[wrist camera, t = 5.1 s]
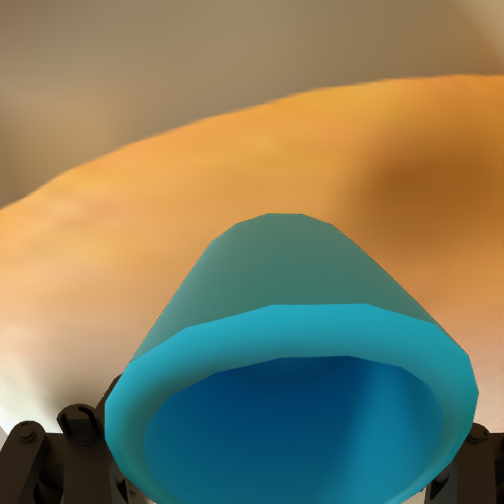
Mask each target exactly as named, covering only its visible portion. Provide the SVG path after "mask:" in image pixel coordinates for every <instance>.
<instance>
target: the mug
mask: <svg viewBox="0 0 504 504" xmlns="http://www.w3.org/2000/svg"><path fill="white" fill-rule="evenodd" d="M478 394H479V392H478V388H477V384H476V380H475V376H474V373H473V369H472V366H471V362H470V359H469V356H468V355H467V354H466V352H465V351H464V350H463V349H462V348H461V347H460V346H459V345H458V344H457V343H456V342H455V341H454V339H453V338H452V337H451V336H450V335H449V334H448V333H447V332H446V331H445V330H444V329H443V328H442V327H441V326H440V325H439V324H438V323H437V322H436V321H435V319H434V318H433V317H432V316H431V315H430V314H429V313H428V312H427V311H426V310H425V309H424V308H423V307H422V306H421V305H420V304H419V303H418V302H417V301H416V300H415V299H414V298H413V297H412V296H411V295H410V294H409V293H408V292H407V291H406V290H405V289H404V288H403V287H402V286H400V285H399V284H398V283H397V282H396V281H395V280H394V279H393V278H392V277H391V276H390V275H389V274H388V273H387V272H386V271H385V270H384V269H383V268H382V267H381V266H379V265H378V264H377V263H376V262H375V261H374V260H373V259H372V258H371V257H370V256H369V255H368V254H367V253H365V252H364V251H363V250H362V249H361V248H360V247H359V246H358V245H357V244H355V243H354V242H353V241H352V240H351V239H349V238H348V237H347V236H346V235H344V234H343V233H342V232H341V231H339V230H338V229H337V228H336V227H334V226H333V225H332V224H329V223H326V222H323V221H320V220H318V219H315V218H312V217H309V216H306V215H303V214H265V215H262V216H259V217H256V218H253V219H249V220H246V221H243V222H240V223H237V224H235V225H234V226H233V227H231V228H230V229H229V230H227V231H226V232H224V233H223V234H222V235H220V236H219V237H218V238H216V239H215V240H213V241H212V242H211V243H210V244H209V246H208V247H207V249H206V250H205V251H204V253H203V254H202V256H201V257H200V259H199V260H198V261H197V263H196V264H195V266H194V267H193V269H192V270H191V272H190V273H189V274H188V276H187V277H186V279H185V280H184V282H183V283H182V285H181V286H180V288H179V289H178V290H177V292H176V293H175V295H174V296H173V298H172V299H171V301H170V302H169V304H168V305H167V307H166V308H165V310H164V311H163V313H162V314H161V316H160V317H159V319H158V320H157V322H156V323H155V325H154V326H153V328H152V329H151V331H150V332H149V334H148V335H147V337H146V338H145V340H144V341H143V343H142V344H141V346H140V347H139V349H138V350H137V352H136V354H135V355H134V357H133V358H132V360H131V361H130V363H129V364H128V366H127V368H126V369H125V371H124V372H123V374H122V376H121V377H120V379H119V380H118V382H117V384H116V385H115V387H114V389H113V390H112V392H111V394H110V395H109V397H108V398H107V400H106V402H105V440H106V442H107V445H108V447H109V449H110V451H111V453H112V455H113V457H114V459H115V461H116V463H117V465H118V467H119V469H120V471H121V472H122V473H123V474H124V475H125V476H126V477H127V478H128V479H129V480H130V481H131V482H132V483H133V484H134V485H135V486H136V487H137V488H138V489H139V490H140V491H141V492H142V493H143V494H144V495H145V496H146V497H147V498H149V499H151V500H152V501H154V502H155V503H157V504H401V503H402V502H404V501H405V500H407V499H409V498H410V497H412V496H413V495H415V494H416V493H418V492H419V491H421V490H422V489H423V488H424V487H426V486H427V485H428V484H429V483H430V482H431V481H432V480H433V479H434V478H435V477H436V476H437V475H438V474H439V473H440V472H441V471H442V470H443V469H444V468H445V467H446V466H447V465H448V464H449V463H450V462H451V461H452V459H453V458H454V456H455V455H456V453H457V452H458V450H459V449H460V447H461V445H462V444H463V442H464V440H465V439H466V437H467V435H468V433H469V432H470V430H471V427H472V423H473V419H474V414H475V410H476V405H477V399H478Z"/></svg>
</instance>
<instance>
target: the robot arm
mask: <svg viewBox="0 0 504 504" xmlns="http://www.w3.org/2000/svg"><path fill="white" fill-rule="evenodd" d="M122 374H123V373H122ZM122 374H121V375H119V376H118V377H116V378H115V379H114V380H113V382H112V383H111V385H110V387H109V390H107V391H106V393H105V394H104V397H103V398H102V399H101V401H100V402H99V404H98V405H97V407H96V409H94V408H93V407H91V406H89V405H86V404H74V405H70V406H68V407H66V408H64V409H63V410H62V411H61V412H60V413H59V414H58V417H57V421H58V424H59V426H60V428H61V430H62V431H63V433H64V434H63V433H46V432H45V430H44V428H43V427H42V426H41V425H40V424H39V423H37V422H35V421H23V422H20V423H19V424H17V425H15V426H14V428H13V429H12V430H11V432H10V434H9V436H8V438H7V440H6V441H5V443H4V445H3V447H2V449H1V451H0V504H152V502H153V501H152V500H151V499H149V498H147V497H146V496H145V495H144V494H143V493H142V492H141V491H140V490H139V489H138V488H137V487H136V486H135V485H134V484H133V483H132V482H131V481H130V480H129V479H128V478H127V477H126V476H125V475H124V474H123V473H122V472H121V471H120V469H119V467H118V465H117V463H116V461H115V459H114V457H113V455H112V453H111V451H110V449H109V447H108V445H107V442H106V440H105V402H106V400H107V398H108V397H109V395H110V394H111V392H112V390H113V389H114V387H115V385H116V384H117V382H118V380H119V379H120V377H121V376H122ZM424 488H425V487H424ZM424 488H423V489H424ZM423 489H422V490H421V491H423ZM421 491H419V492H421ZM424 504H504V433H489V431H488V430H487V429H486V428H485V427H484V426H482V425H480V424H478V423H472V427H471V430H470V432H469V433H468V435H467V437H466V439H465V440H464V442H463V444H462V445H461V447H460V449H459V450H458V452H457V453H456V455H455V456H454V458H453V459H452V461H451V462H450V463H449V464H448V465H447V466H446V467H445V468H444V469H443V470H442V471H441V472H440V473H439V474H438V475H437V476H436V477H435V478H434V479H433V480H432V481H431V482H430V483H429V484H428V485H427V486H426V494H425V501H424Z"/></svg>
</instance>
